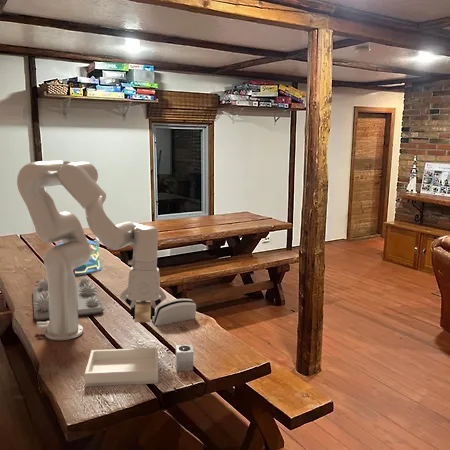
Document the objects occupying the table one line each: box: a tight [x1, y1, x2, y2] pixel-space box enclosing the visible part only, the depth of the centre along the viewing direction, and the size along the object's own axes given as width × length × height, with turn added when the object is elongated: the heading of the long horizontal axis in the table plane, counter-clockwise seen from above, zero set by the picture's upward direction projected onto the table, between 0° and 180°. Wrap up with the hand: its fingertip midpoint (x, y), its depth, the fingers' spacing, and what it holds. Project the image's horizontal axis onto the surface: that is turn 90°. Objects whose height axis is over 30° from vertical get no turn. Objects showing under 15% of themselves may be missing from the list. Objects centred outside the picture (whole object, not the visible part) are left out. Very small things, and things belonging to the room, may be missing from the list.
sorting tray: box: [84, 347, 159, 388], centre depth 134 cm, size 20×14×4 cm
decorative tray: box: [32, 276, 105, 321], centre depth 186 cm, size 35×26×10 cm
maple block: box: [134, 300, 152, 323], centre depth 147 cm, size 5×5×6 cm
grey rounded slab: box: [151, 298, 197, 326], centre depth 172 cm, size 17×5×10 cm, turn 122°
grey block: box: [175, 344, 194, 372], centre depth 138 cm, size 5×5×6 cm
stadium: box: [55, 236, 103, 276], centre depth 239 cm, size 35×24×14 cm
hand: (142, 317), depth 148 cm, fingers closed on maple block, 5 cm apart
